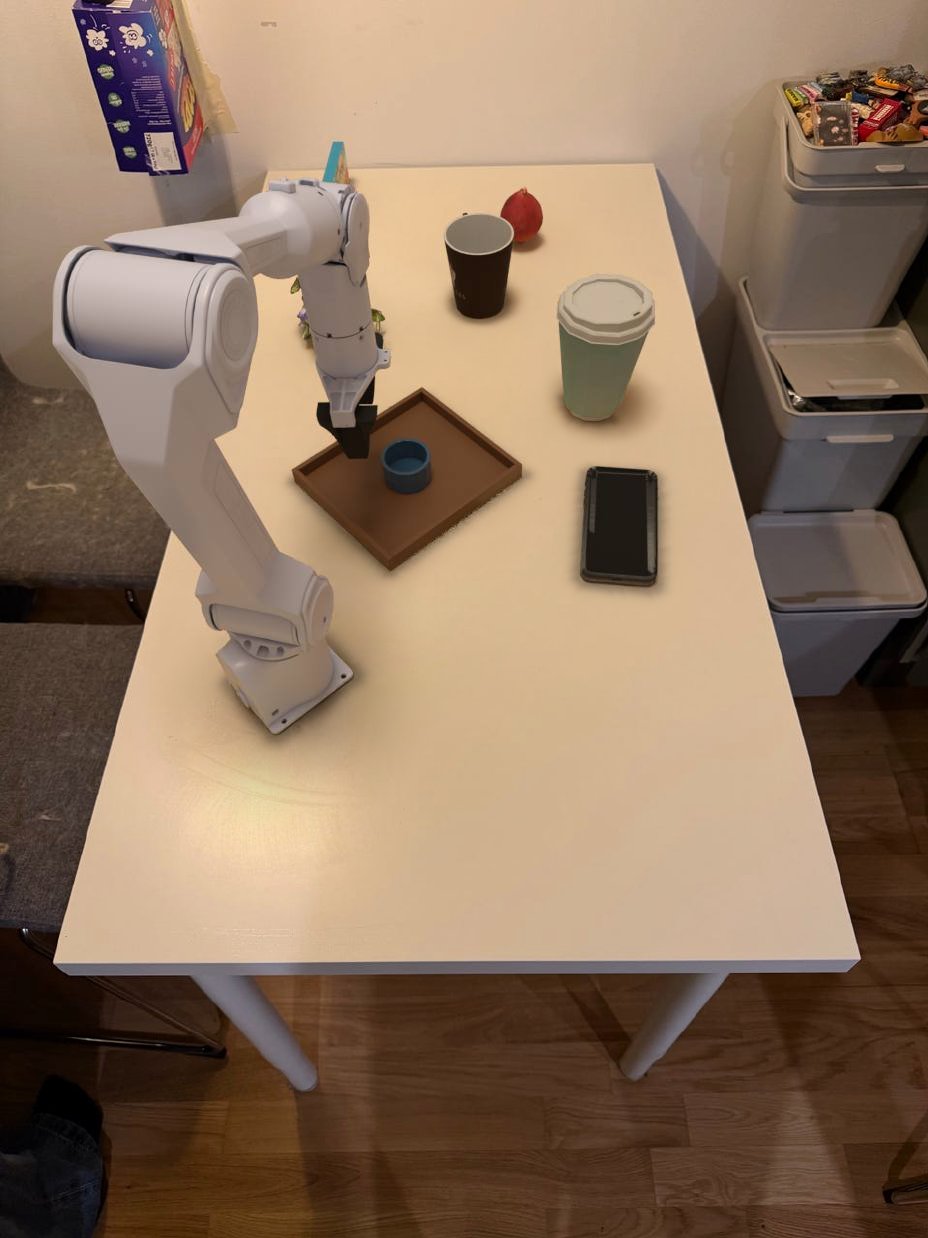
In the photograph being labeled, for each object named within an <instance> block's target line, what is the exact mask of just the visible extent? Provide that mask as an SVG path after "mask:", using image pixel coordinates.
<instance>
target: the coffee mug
mask: <svg viewBox="0 0 928 1238" xmlns="http://www.w3.org/2000/svg"><path fill="white" fill-rule="evenodd" d="M513 238H514V230H513V227H512V226H511V224H510V223H509V222H508V221H507V220H505V219H503V218H502V217H500V215H496V214H492V213H487V212H475V213H474V212H473V213H468V212H463V213H462V215H461V216H459V217H457V218H454V219H453V220H452V221H450V222H449V223H448V224H447V225H446V227H444V231H443V240H444V244H445V245H444V246H445V251H446V258H447V262H448V268H449V274H450V279H451V284H452V285H451V286H452V291H453V296H454V300H455V307H456V310H457V311H458V312H459V313H460V314H461V315H462V316H465V317H466V318H469V319H474V320H485V319H489V318H493V317H495V316H497V315H498V314H499V313H501V311H503V309H504V306H505V302H506V301H505V300H506V294H507V287H508V280H509V274H510V267H511V259H512V252H513V244H514V240H513Z"/></svg>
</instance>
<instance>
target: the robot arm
mask: <svg viewBox="0 0 928 1238" xmlns="http://www.w3.org/2000/svg"><path fill="white" fill-rule="evenodd" d="M370 218H371V217H370V205H369V203H368V202H367V199H366V197H365V195H364V194H363V193H361V192H358V190H357V189H356V187H355V186H354V185H352V184H349V185H347V184H338V183H329V182H322V181H320V180H319V178H316V177H308V176H303V177H300V178H293V179H289V178H287V176H282V177H281V178H280V179H270V180H269V181H268V190H267V191H263V192H259V193H256V194H254V195H253V196H251V197H250V198H248V200H247V201H245V203H244V204H243V206H242V207H241V209H240V211H239V214H238V216H235V217H234V216H233V217H227V218H219V219H218V218H217V219H211V220H205V221H196V222H190V223H189V222H188V223H183V224H175V225H168V226H162V227H154V228H146V229H141V230H134V231H133V230H132V231H126V232H119V233H115V234H113V235H110V236H108V237H106V238H105V239H103V240H102V242H103V244H106V245H107V246H108V247H109V248H110V249H111V250H112V251H111V250H106V249H103V248H101V246H96V245H89V244H85V245H84V244H83V245H79V246H76V247H74V248H73V249H72V250H70V251H69V252H68V253H67V254H66V256H64V258H63V260H62V262H61V263H60V265H59V267H58V269H57V272H56V276H55V279H54V282H53V289H52V340H51V342H52V346H53V347H54V349H55V350H56V352H57V353H58V354H59V356H60V357H61V358H62V360H63V361H64V362H65V364H66V366H68V368H69V369H70V370H71V372H72V373H73V374H74V376H75V377H76V378H77V379H78V381H79V382H80V383H81V385H82V387H83V388H84V389H85V391H86V392H87V393H88V394H89V396H90V397H91V398H92V400H93V401H94V403H95V406H96V408H97V411H98V414H99V416H100V419H101V421H102V424H103V427H104V430H105V432H106V435H107V437H108V440H109V442H110V445H111V448H112V450H113V453H114V455H115V458H116V460H117V461H118V463H119V464H120V466H121V468H122V469H123V471H124V472H125V473H126V474H127V476H128V477H129V478H130V480H131V481H132V482H133V483H134V485H135V486H136V487H137V488H138V490H139V491H140V493H142V495H143V496H144V497H145V499H146V500H147V501H148V502H149V503H150V505H151V506H152V507H153V508H154V510H155V511H156V512H157V514H158V515H159V516H160V517H161V519H162V520H163V521H164V522H165V524H166V525H167V526H168V528H169V529H170V530H171V531H172V533H173V534H174V535H175V536H176V538H177V539H178V541H179V542H180V543H181V544H182V545H183V547H184V548H185V549H186V551H187V552H188V553H189V554H190V556H191V557H192V558H193V560H194V561H195V562H196V563H197V565H198V566H200V568H201V570H200V573H199V575H198V578H197V583H196V586H195V591H194V597H196V599H197V600H198V601H199V603H200V605H201V613H202V615H203V619H204V620H205V623H206V625H207V626H208V628H209V629H211V630H213V631H218V632H223V631H225V632H227V634H228V636H229V640H228V641H227V642H226V643H225V644H224V645H223V646H222V647H221V648H219V649H218V651H217V652H215V657H216V659H217V661H218V662H219V664H220V666H221V668H222V669H223V672H224V673H225V675H226V676H227V678H228V682H229V684H230V686H231V687H232V688H233V689H234V690H235V692H236V695H237V697H238V698H239V700H240V701H241V702H242V703H243V705H244V706H245V707H246V708H250V709H251V710H252V712H253V713H254V714H255V715H256V717H258V718H259V720H260V721H261V722H262V723H263V724H264V725H265V727H266V728H267V729H268V731H270V733H272V734H273V735H278V734H280V733H281V732H283V731H284V730H285V729H286V728H288V727H289V726H290V725H292V724H293V723H294V722H296V721H297V720H298V719H300V718H301V717H303V716H304V715H305V714H307V712H309V711H310V710H312V709H313V708H315V706H317V705H319V703H321V702H322V701H323V700H325V699H326V698H327V697H329V696H330V695H331V694H333V693H334V692H335V691H337V690H338V689H340V687H341V686H343V685H344V684H345V683H347V682H348V681H350V680H351V679H353V677H354V672H353V670H352V669H351V668H350V666H349V665H347V663H345V661H344V660H343V659H342V658H341V657H340V656H339V655H338V654H337V652H335V651H334V650H333V649H332V648H331V646H330V645H329V643H328V642H327V638H326V635H327V633H328V631H329V628H330V626H331V622H332V618H333V614H334V605H335V594H334V589H333V586H332V585H331V582H330V580H329V578H328V577H327V576H325V575H322V574H321V575H320V574H318V573H317V572H316V569H315V568H314V567H312V566H310V565H308V564H307V563H304V562H302V561H301V560H298V559H297V558H294V557H292V556H290V555H288V554H286V553H283V552H282V551H280V550H279V548H278V547H277V545H276V544H275V541H274V540H273V538H272V537H271V535H270V533H269V531H268V530H267V528H266V526H265V524H264V523H263V521H262V520H261V517H260V516H259V514H258V512H257V510H256V509H255V507H254V505H253V504H252V502H251V500H250V499H249V496H248V495H247V493H246V492H245V490H244V488H243V486H242V484H241V483H240V481H239V479H238V478H237V476H236V474H235V473H234V471H233V469H232V467H231V466H230V464H229V463H228V461H227V459H226V457H225V455H224V454H223V452H222V450H221V448H220V447H219V444H218V443H217V442H216V439H218V438H219V437H221V436H224V435H226V434H228V433H230V432H231V431H233V430H235V429H237V426H238V422H239V419H240V414H241V413H240V412H241V409H242V407H243V405H244V400H245V395H246V391H247V385H248V380H249V376H250V371H251V366H252V361H253V356H254V354H255V350H256V346H257V342H258V338H259V337H258V336H259V309H258V297H257V290H256V284H255V280H254V278H255V277H256V276H258V275H260V274H261V275H263V276H265V277H267V278H270V279H273V280H286V279H291V278H293V277H295V276H296V277H298V278H299V283H300V287H301V288H300V293H301V297H302V296H303V301H304V303H303V304H304V305H305V310H306V314H307V319H308V323H309V328H310V332H311V336H310V338H311V340H312V346H313V350H314V354H315V358H314V365H315V368H316V372H317V374H318V377H319V379H320V382H321V384H322V387H323V390H324V393H325V395H326V397H327V401H318V402H317V406H316V413H315V416H316V420H317V423H318V424H319V425H318V426H320V427H321V428H323V429H325V430H326V431H327V432H328V433H330V434H331V435H332V436H333V437H334V439H335V440H336V441H337V442H338V443H339V445H340V447H341V448H342V450H343V452H344V453H345V455H346V456H347V458H348V459H367V458H368V455H369V446H370V432H371V429H372V427H373V426H374V424H375V421H376V418H377V415H378V409H379V405H378V404H374V401H375V400H374V399H375V390H376V374H377V373H378V371H380V370H387V369H389V368H390V367H391V363H392V362H391V361H392V355H391V350H389V349H387V348H384V336H383V334H381V333H380V332H377V331H375V325H374V322H373V318H372V311H371V308H372V306H371V298H370V292H369V291H370V290H369V284H368V279H367V278H368V277H367V271H368V270H369V267H370V258H371V256H370V255H371V254H370V248H369V247H370V246H369V238H370V237H369V236H370V223H371V222H370V221H371V219H370ZM303 301H302V302H303ZM343 677H344V678H343ZM284 721H285V722H284ZM283 722H284V723H283Z"/></svg>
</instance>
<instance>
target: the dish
mask: <svg viewBox="0 0 928 1238" xmlns="http://www.w3.org/2000/svg"><path fill="white" fill-rule="evenodd" d="M381 464H382V470H383V476H384V480H385V483H386V485H387V486H388V487H389V488H390V489H391V490H393V491H395V492H397V493H401V494H413V493H417V492H419V491H421V490H423V489H424V488H426V487H427V486H428V485H429V483H430V481H431V479H432V463H431V453H430V451H429V448H428V447H427V446H426V445H425V444H424V443H423V442H422V441H419V440H416V439H413V438H402V439H399V440H395V441H393V442H391V443H390V444H388V445H387V446H386V447H385V448H384V450H383V451H382V454H381Z"/></svg>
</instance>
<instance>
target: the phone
mask: <svg viewBox="0 0 928 1238" xmlns="http://www.w3.org/2000/svg"><path fill="white" fill-rule="evenodd" d="M658 479H659V478H658V475H657V473H656V472H655V471H653V470H651V469H646V468H645V469H644V468H632V467H631V468H629V467H615V466H602V465H601V466H600V465H594V466H590V467H589V468H588V469H587V470H586V474H585V481H584V490H583V491H584V492H583V504H582V505H583V518H582V533H581V534H582V535H581V548H580V549H581V551H580V566H579V574H580V576H581V578H582V579H583V580H585V581H587V582H591V583H601V584H602V583H603V584H612V585H613V584H614V585H615V584H616V585H627V586H639V587H649V586H653V584H654V583H655V582H656V579H657V576H658V571H659V570H658V569H659V564H658V563H659V562H658V561H659V560H658V559H659V548H658V547H659V545H658V544H659V542H658V540H659V530H658V528H659V527H658V526H659V525H658V523H659V519H658V518H659V514H658V513H659V509H658V508H659V506H658V505H659V503H658V502H659V497H658V495H659V490H658V489H659V487H658V485H659V483H658V482H659V480H658Z"/></svg>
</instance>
